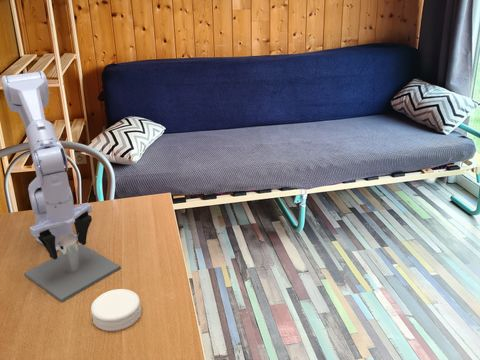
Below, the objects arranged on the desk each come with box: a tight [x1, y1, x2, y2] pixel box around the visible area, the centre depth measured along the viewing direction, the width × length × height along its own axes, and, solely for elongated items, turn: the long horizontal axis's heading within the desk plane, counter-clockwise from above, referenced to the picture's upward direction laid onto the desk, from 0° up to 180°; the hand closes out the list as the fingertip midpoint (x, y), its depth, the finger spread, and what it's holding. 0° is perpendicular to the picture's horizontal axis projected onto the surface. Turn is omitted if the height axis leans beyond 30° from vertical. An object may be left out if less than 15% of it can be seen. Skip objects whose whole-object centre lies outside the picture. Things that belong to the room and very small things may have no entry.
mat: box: [23, 243, 122, 303], centre depth 121 cm, size 16×16×1 cm
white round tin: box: [90, 288, 142, 332], centre depth 106 cm, size 10×10×4 cm
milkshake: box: [57, 233, 80, 273], centre depth 118 cm, size 4×5×10 cm
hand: (68, 250), depth 118 cm, fingers open, 7 cm apart
